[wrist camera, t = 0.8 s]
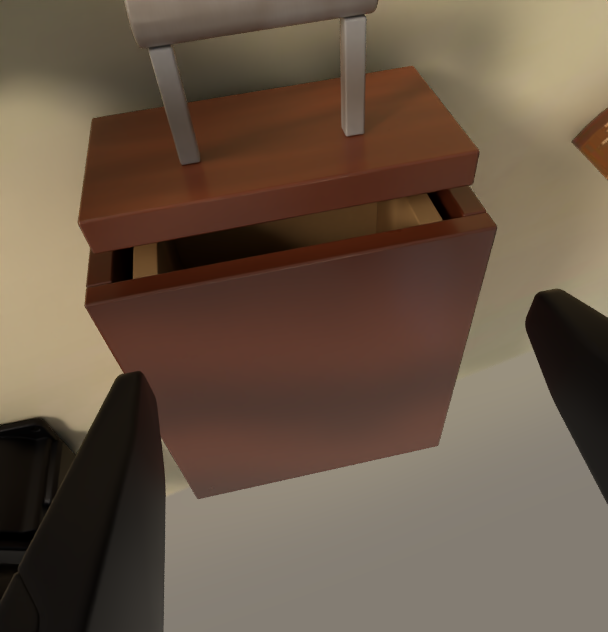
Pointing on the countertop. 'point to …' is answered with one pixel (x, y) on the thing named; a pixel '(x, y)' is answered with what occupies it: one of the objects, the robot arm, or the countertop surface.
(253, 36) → the countertop surface
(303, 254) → the cabinet
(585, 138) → the food container
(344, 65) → the drawer
